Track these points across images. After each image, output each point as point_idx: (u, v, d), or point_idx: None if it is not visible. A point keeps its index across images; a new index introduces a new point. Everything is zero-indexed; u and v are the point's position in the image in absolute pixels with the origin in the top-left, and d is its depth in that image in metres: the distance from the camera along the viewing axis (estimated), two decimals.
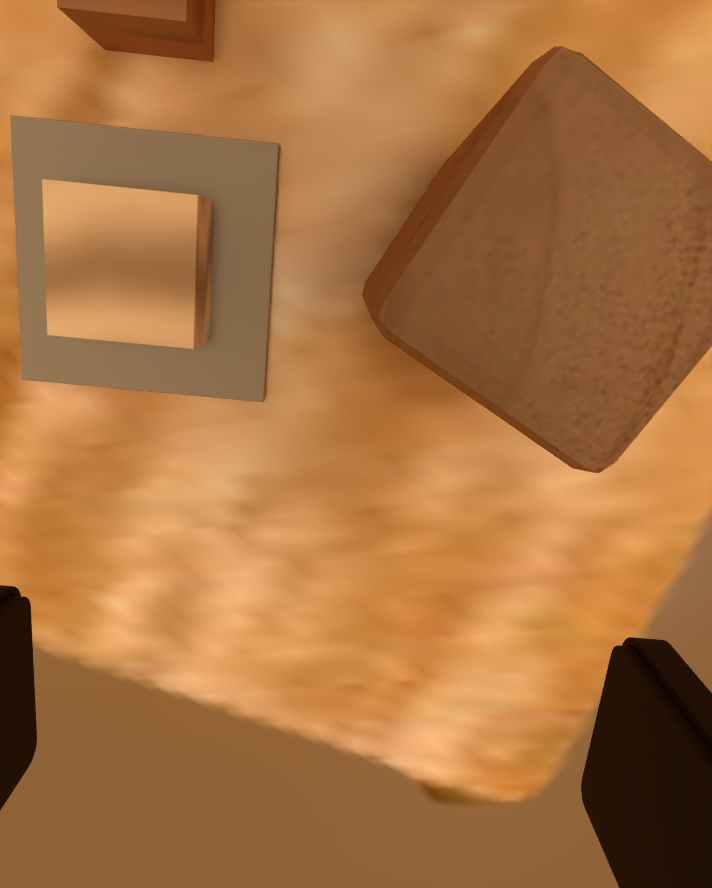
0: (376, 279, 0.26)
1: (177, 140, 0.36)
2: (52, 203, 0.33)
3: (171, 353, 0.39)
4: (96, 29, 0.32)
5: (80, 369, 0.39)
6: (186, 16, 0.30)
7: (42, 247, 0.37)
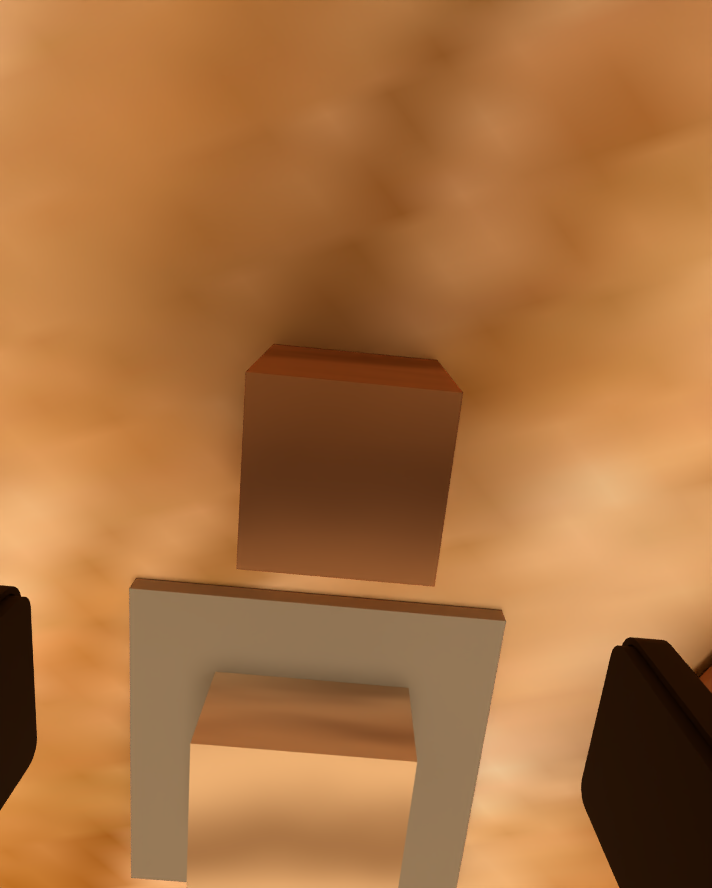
0: None
1: (363, 617, 0.25)
2: (203, 771, 0.22)
3: None
4: None
5: None
6: (434, 578, 0.19)
7: (166, 736, 0.27)
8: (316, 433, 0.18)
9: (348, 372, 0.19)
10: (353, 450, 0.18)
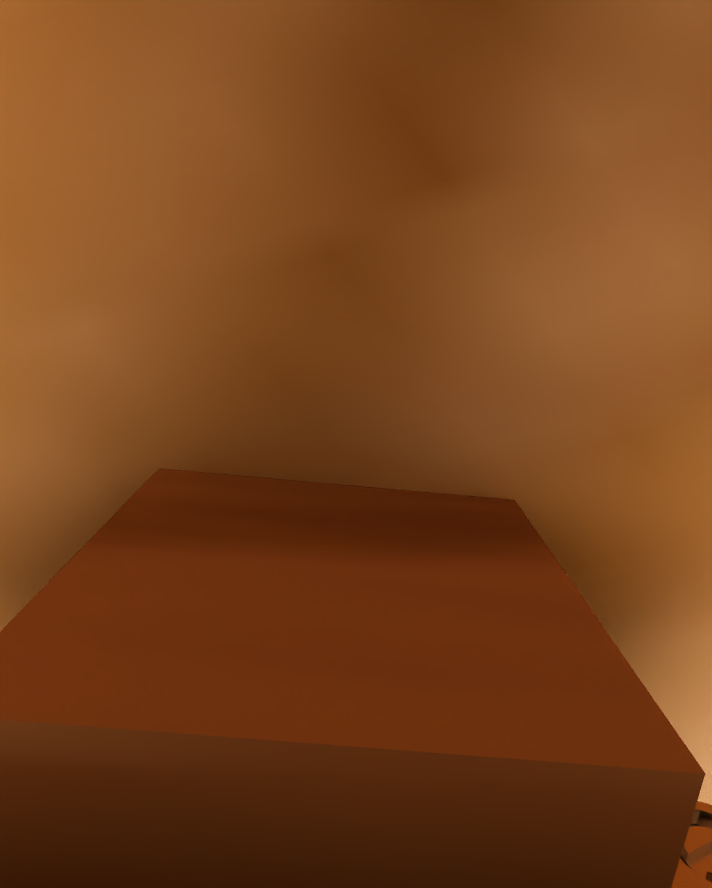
0: None
1: None
2: None
3: None
4: None
5: None
6: None
7: None
8: None
9: (308, 633, 0.06)
10: None
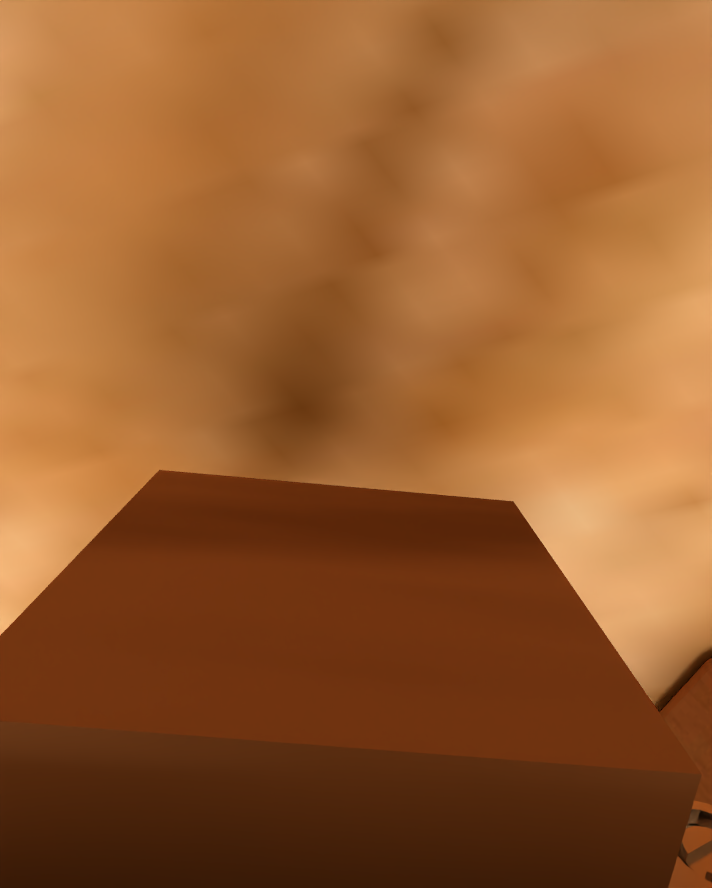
0: None
1: None
2: None
3: None
4: None
5: None
6: None
7: None
8: None
9: (307, 634, 0.06)
10: None
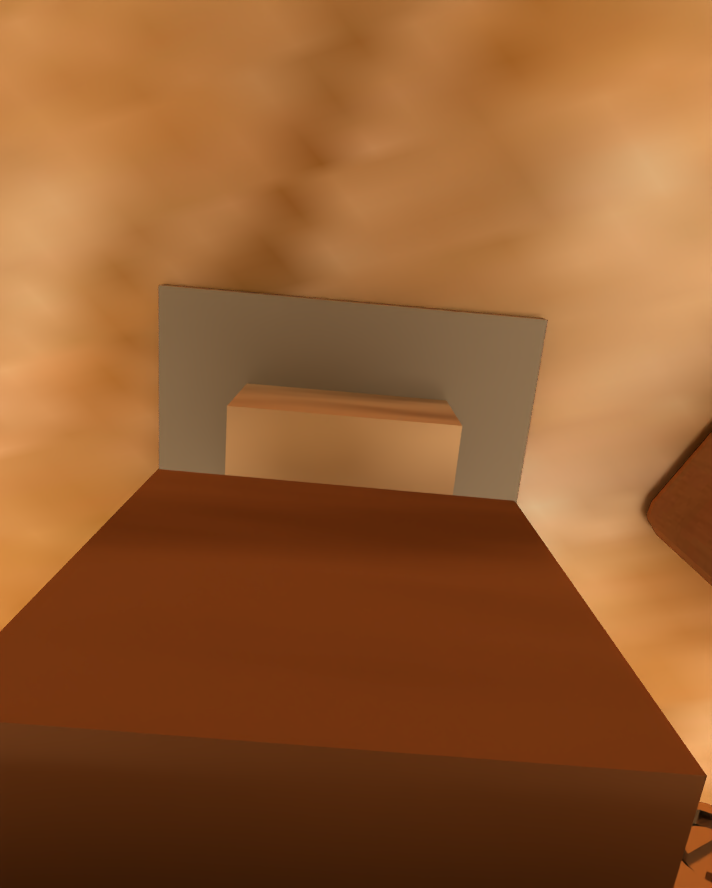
0: None
1: (400, 316, 0.24)
2: (240, 439, 0.22)
3: None
4: None
5: None
6: None
7: (195, 461, 0.26)
8: None
9: (307, 634, 0.06)
10: None
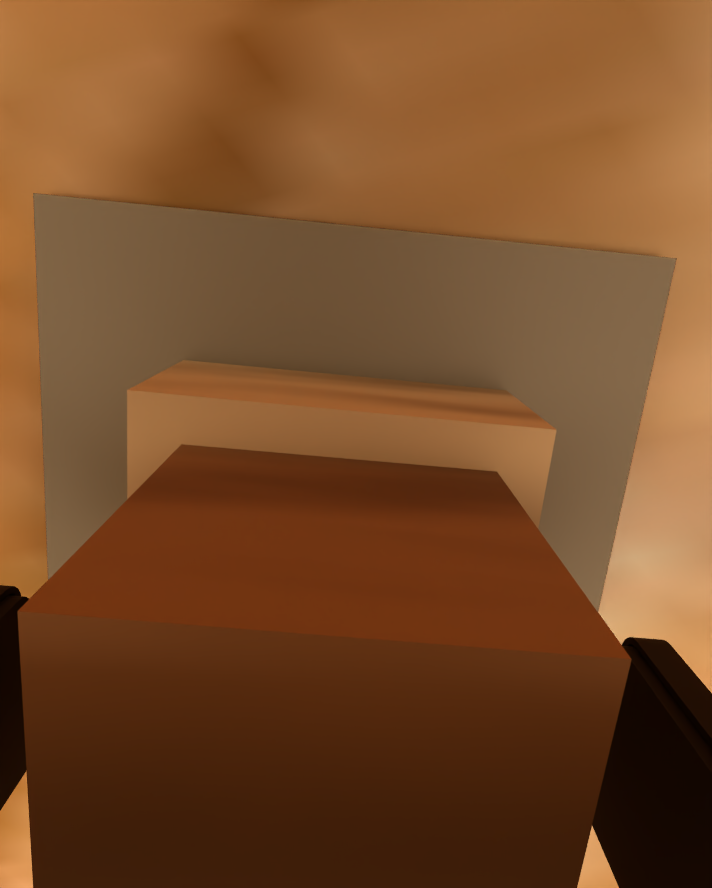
0: None
1: (435, 251, 0.15)
2: (153, 452, 0.12)
3: None
4: None
5: None
6: None
7: (103, 485, 0.16)
8: (228, 761, 0.07)
9: (316, 565, 0.08)
10: (326, 798, 0.07)
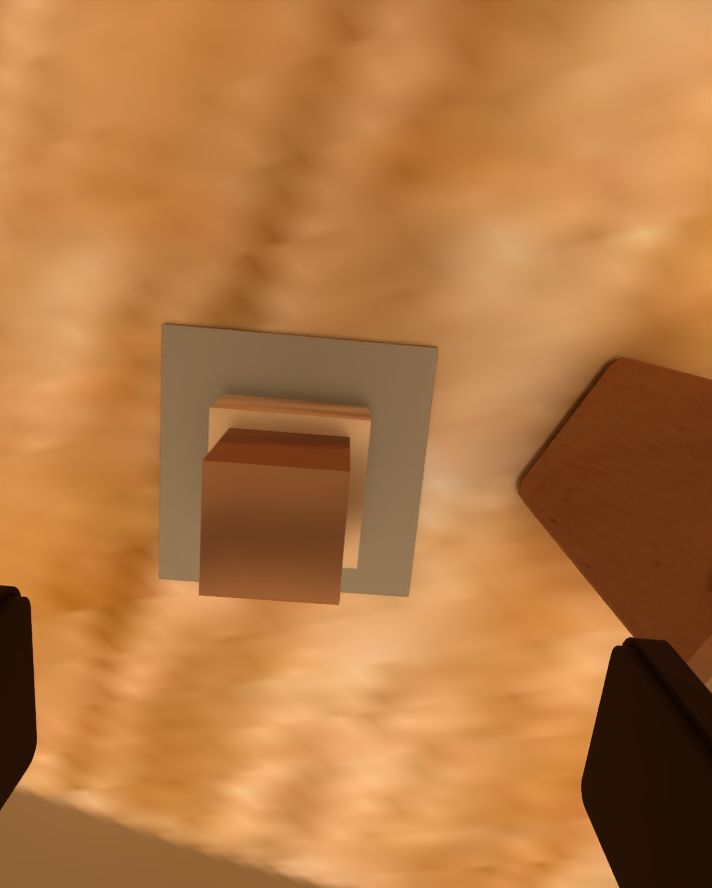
0: (607, 561, 0.25)
1: (333, 346, 0.34)
2: (218, 430, 0.31)
3: None
4: None
5: None
6: (339, 599, 0.27)
7: (187, 450, 0.36)
8: (252, 500, 0.26)
9: (275, 456, 0.27)
10: (277, 511, 0.26)
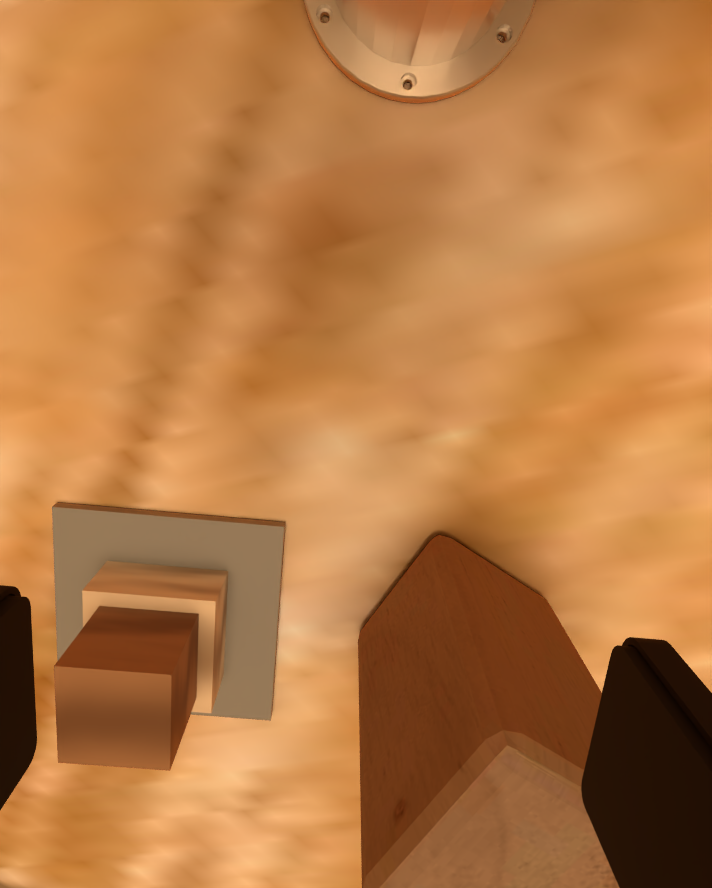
0: (367, 752, 0.32)
1: (196, 524, 0.41)
2: (90, 608, 0.38)
3: None
4: None
5: None
6: (170, 765, 0.34)
7: (78, 604, 0.42)
8: (95, 695, 0.33)
9: (119, 653, 0.34)
10: (115, 702, 0.33)
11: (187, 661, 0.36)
